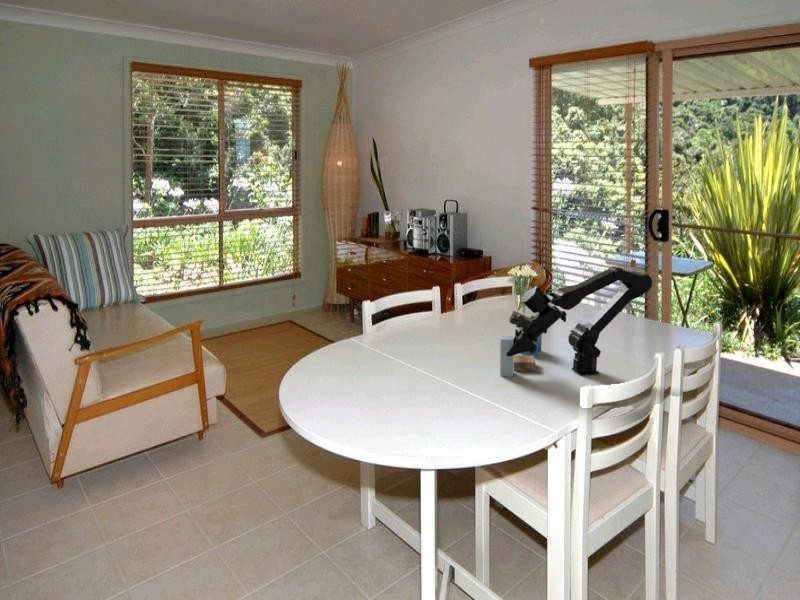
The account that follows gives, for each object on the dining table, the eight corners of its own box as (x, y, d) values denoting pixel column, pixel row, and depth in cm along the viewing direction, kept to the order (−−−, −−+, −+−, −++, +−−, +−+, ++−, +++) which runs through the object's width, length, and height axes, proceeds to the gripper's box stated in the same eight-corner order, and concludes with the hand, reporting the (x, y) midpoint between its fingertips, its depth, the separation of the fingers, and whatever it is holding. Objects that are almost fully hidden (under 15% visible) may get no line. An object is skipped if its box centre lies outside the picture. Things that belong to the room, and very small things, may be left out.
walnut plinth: (533, 363, 193) (533, 355, 192) (535, 371, 186) (535, 362, 185) (512, 363, 194) (513, 355, 193) (513, 370, 187) (513, 362, 186)
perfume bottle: (541, 350, 206) (542, 319, 203) (535, 355, 201) (536, 323, 198) (524, 348, 209) (525, 317, 206) (518, 353, 204) (519, 321, 201)
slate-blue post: (512, 371, 186) (512, 335, 183) (512, 376, 182) (513, 339, 179) (500, 371, 187) (500, 335, 184) (500, 376, 183) (500, 339, 180)
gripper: (523, 296, 187) (489, 328, 191) (526, 311, 169) (489, 345, 173) (546, 320, 187) (512, 350, 192) (552, 336, 169) (514, 370, 174)
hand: (507, 353), depth 183 cm, fingers closed on slate-blue post, 4 cm apart
